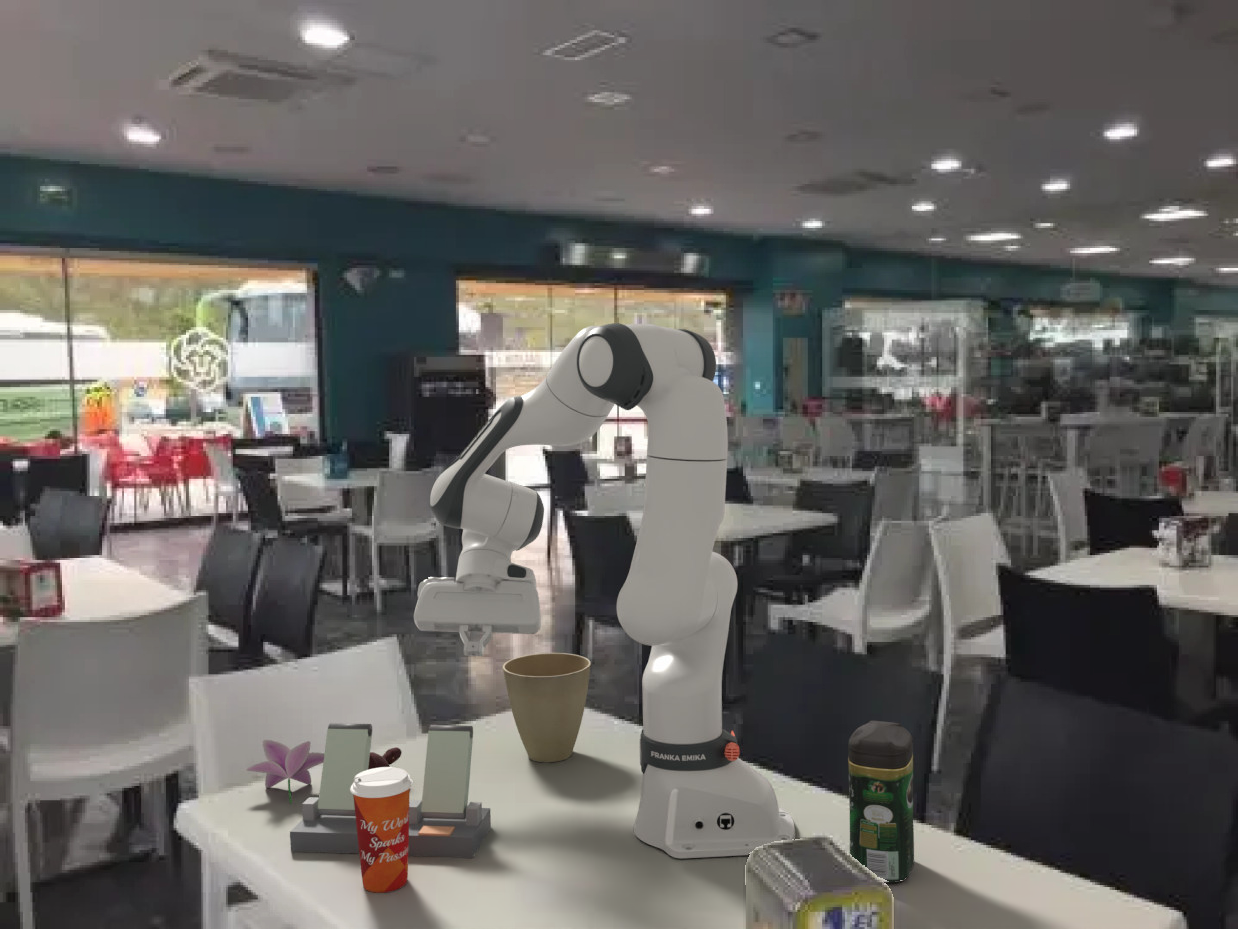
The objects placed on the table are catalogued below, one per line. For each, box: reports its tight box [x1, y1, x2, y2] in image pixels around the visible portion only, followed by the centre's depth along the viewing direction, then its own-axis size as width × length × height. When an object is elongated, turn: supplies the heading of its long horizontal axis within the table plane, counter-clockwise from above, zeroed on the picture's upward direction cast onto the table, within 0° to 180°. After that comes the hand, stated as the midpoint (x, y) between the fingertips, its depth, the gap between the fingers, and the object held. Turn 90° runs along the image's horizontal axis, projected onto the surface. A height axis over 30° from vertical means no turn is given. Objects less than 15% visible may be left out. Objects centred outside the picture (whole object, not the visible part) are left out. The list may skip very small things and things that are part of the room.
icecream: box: [368, 746, 403, 770], centre depth 167 cm, size 7×7×15 cm
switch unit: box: [289, 796, 492, 859], centre depth 150 cm, size 26×10×5 cm, turn 83°
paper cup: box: [350, 766, 414, 894], centre depth 137 cm, size 8×8×14 cm
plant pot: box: [502, 652, 592, 763], centre depth 182 cm, size 15×15×16 cm
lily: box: [245, 739, 325, 805], centre depth 167 cm, size 12×12×10 cm
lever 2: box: [421, 724, 474, 820], centre depth 151 cm, size 6×2×13 cm, turn 83°
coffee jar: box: [847, 720, 915, 883], centre depth 137 cm, size 10×8×19 cm
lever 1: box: [318, 722, 373, 816], centre depth 153 cm, size 6×2×13 cm, turn 83°
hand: (473, 654), depth 168 cm, fingers closed
